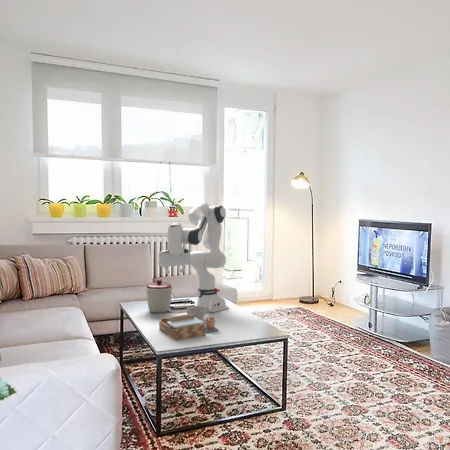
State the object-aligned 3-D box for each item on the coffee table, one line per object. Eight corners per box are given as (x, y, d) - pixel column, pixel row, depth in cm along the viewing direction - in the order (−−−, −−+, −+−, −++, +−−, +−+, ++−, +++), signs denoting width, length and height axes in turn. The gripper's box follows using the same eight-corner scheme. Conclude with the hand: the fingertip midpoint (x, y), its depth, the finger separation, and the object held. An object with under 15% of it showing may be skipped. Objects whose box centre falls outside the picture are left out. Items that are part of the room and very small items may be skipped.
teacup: (188, 323, 264) (188, 309, 263) (185, 318, 274) (185, 305, 274) (211, 321, 267) (211, 308, 267) (206, 316, 278) (207, 304, 277)
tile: (211, 327, 256) (211, 325, 256) (218, 330, 249) (218, 329, 249) (199, 329, 252) (199, 327, 252) (206, 332, 245) (206, 331, 245)
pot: (209, 325, 256) (209, 316, 255) (217, 327, 253) (217, 318, 252) (203, 328, 251) (203, 318, 251) (211, 330, 248) (211, 320, 248)
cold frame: (187, 324, 260) (187, 314, 260) (205, 334, 242) (205, 324, 241) (159, 329, 251) (159, 318, 251) (175, 340, 232) (175, 329, 232)
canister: (176, 313, 285) (176, 281, 283) (148, 315, 278) (148, 282, 276) (169, 306, 301) (169, 276, 300) (142, 308, 295) (142, 277, 293)
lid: (195, 318, 251) (195, 313, 251) (204, 323, 242) (204, 317, 242) (167, 323, 242) (167, 317, 241) (174, 327, 233) (174, 321, 233)
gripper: (160, 251, 258) (160, 275, 259) (192, 250, 269) (191, 272, 270) (156, 250, 264) (156, 273, 264) (187, 248, 274) (187, 270, 275)
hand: (174, 273), depth 267 cm, fingers open, 8 cm apart
